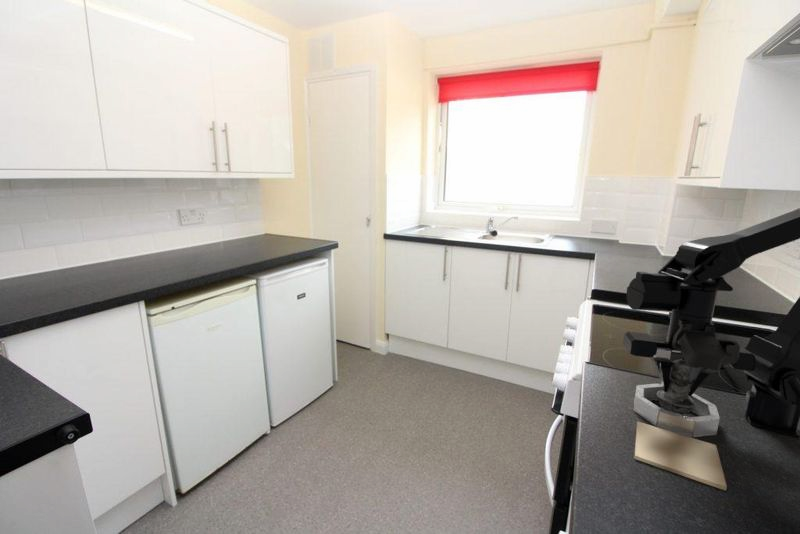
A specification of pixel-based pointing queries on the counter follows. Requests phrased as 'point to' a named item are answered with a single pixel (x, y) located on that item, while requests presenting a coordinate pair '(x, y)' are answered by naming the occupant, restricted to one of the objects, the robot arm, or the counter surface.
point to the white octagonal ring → (674, 421)
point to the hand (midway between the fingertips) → (676, 392)
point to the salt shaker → (677, 390)
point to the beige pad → (679, 454)
